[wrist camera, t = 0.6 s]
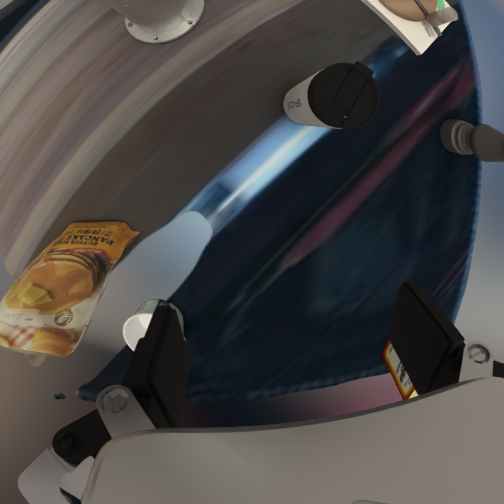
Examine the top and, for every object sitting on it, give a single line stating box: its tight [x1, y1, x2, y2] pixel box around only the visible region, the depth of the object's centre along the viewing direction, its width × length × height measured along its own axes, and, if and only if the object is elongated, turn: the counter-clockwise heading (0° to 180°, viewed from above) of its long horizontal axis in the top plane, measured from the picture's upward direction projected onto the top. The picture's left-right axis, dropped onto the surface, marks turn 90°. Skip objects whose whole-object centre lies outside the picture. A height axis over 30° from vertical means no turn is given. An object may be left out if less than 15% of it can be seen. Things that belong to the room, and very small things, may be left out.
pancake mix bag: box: [0, 221, 140, 357], centre depth 34 cm, size 7×19×28 cm, turn 88°
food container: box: [123, 299, 185, 351], centre depth 52 cm, size 12×12×6 cm
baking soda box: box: [382, 341, 418, 400], centre depth 53 cm, size 10×6×16 cm
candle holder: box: [440, 119, 504, 162], centre depth 29 cm, size 6×6×25 cm
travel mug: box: [283, 61, 380, 129], centre depth 30 cm, size 6×7×20 cm
